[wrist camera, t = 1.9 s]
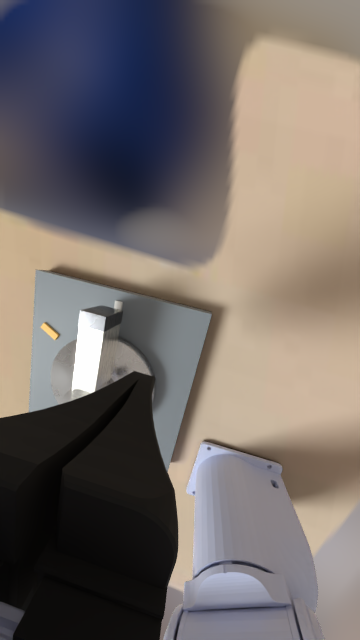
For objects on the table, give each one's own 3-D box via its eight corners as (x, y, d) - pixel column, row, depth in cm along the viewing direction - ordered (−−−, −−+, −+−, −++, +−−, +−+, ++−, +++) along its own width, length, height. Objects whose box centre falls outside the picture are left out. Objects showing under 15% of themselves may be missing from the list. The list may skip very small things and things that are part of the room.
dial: (172, 320, 17) (162, 332, 13) (145, 437, 21) (130, 476, 16) (66, 292, 18) (26, 296, 14) (55, 409, 21) (20, 440, 17)
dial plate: (211, 311, 18) (212, 314, 17) (168, 463, 23) (166, 477, 21) (48, 270, 20) (34, 269, 18) (38, 422, 24) (26, 432, 22)
